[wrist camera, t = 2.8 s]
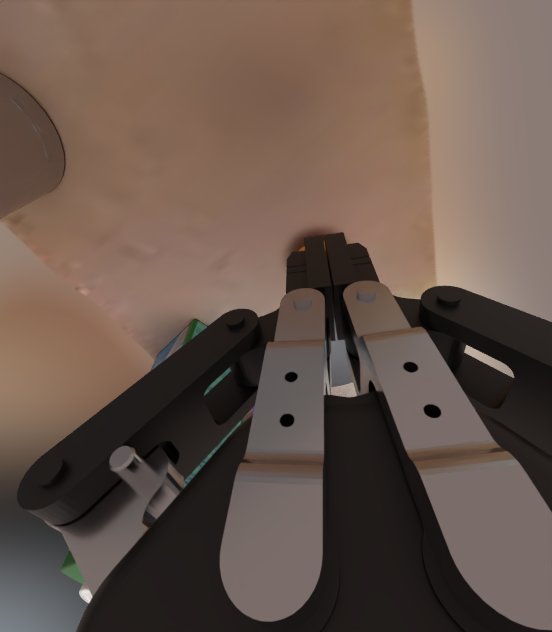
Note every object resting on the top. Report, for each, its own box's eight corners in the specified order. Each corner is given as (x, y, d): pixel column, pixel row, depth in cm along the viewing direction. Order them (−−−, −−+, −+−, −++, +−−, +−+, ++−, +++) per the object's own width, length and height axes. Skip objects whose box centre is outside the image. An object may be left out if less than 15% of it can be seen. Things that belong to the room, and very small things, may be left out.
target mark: (285, 389, 45) (285, 390, 45) (268, 321, 37) (268, 322, 37) (378, 381, 43) (378, 383, 43) (382, 309, 35) (382, 310, 35)
